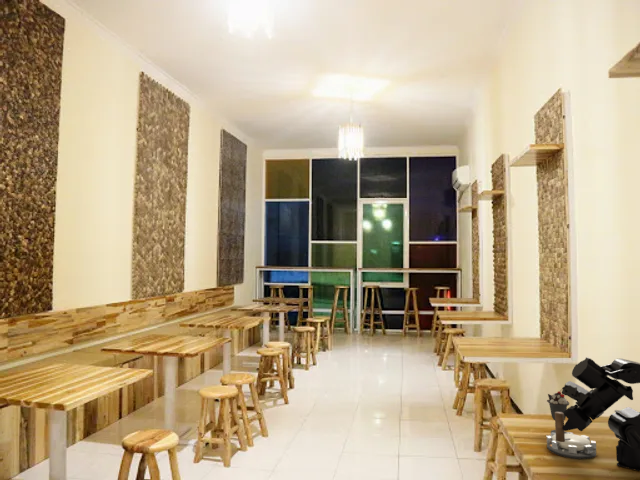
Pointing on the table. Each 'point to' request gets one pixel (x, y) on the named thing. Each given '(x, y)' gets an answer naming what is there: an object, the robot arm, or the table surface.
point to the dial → (567, 435)
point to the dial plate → (574, 456)
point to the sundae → (557, 404)
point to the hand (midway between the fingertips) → (563, 429)
